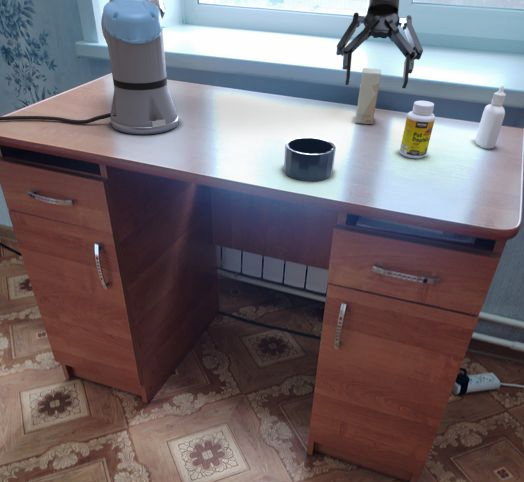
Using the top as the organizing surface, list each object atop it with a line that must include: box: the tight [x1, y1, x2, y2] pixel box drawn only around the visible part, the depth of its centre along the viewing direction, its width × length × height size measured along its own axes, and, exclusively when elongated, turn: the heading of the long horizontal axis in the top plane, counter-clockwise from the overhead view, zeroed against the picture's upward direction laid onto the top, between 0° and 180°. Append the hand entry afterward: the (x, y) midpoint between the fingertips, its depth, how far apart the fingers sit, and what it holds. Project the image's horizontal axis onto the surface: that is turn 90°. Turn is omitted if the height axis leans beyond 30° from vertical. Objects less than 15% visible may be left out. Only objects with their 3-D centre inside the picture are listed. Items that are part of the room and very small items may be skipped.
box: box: [355, 67, 382, 125], centre depth 120 cm, size 5×4×11 cm
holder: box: [283, 136, 336, 182], centre depth 97 cm, size 9×9×5 cm
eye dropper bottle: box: [474, 85, 507, 150], centre depth 109 cm, size 4×6×12 cm
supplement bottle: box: [399, 100, 436, 159], centre depth 104 cm, size 6×6×10 cm
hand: (376, 83), depth 120 cm, fingers open, 13 cm apart
